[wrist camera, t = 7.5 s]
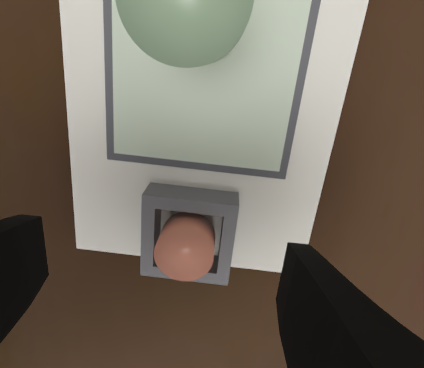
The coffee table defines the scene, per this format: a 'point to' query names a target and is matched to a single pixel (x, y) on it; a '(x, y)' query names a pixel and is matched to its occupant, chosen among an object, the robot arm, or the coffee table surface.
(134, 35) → the marker
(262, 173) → the activity board
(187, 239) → the button
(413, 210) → the coffee table surface
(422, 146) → the coffee table surface
